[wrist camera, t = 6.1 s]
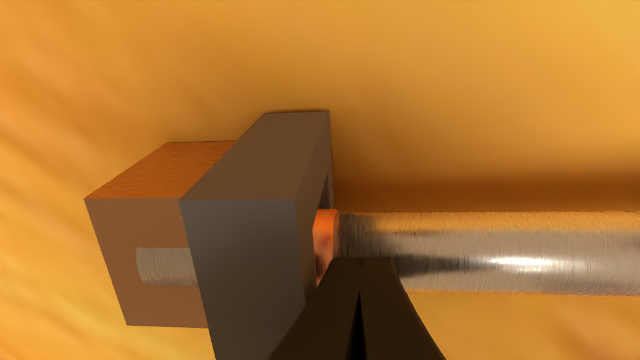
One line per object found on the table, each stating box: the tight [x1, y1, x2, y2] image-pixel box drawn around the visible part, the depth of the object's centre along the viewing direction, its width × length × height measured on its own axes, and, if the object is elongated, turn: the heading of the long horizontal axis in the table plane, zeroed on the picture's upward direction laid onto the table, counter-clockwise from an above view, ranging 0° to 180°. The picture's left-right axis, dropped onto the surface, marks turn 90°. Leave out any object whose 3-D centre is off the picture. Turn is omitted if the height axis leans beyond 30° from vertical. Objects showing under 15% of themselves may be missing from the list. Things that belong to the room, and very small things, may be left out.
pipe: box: [84, 141, 640, 328], centre depth 11 cm, size 22×4×5 cm, turn 94°
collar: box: [178, 111, 335, 360], centre depth 10 cm, size 2×6×6 cm, turn 4°
